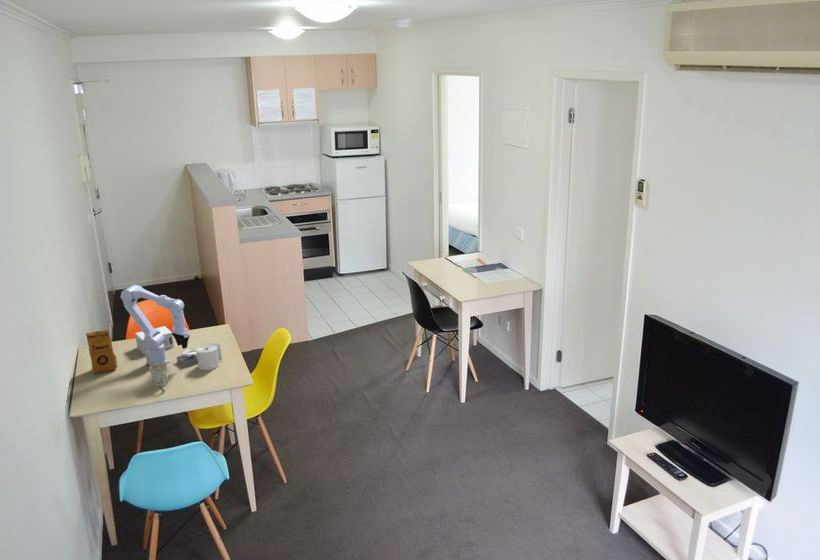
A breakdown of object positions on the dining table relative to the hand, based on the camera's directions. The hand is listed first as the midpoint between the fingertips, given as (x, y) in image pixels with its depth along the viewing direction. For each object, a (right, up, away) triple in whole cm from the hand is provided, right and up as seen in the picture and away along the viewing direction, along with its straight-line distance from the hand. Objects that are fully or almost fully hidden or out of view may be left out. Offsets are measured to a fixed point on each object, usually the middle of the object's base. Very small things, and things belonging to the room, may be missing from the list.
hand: (182, 346), depth 348 cm
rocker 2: (+4, -4, +2) cm, 6 cm away
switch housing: (+3, -9, +5) cm, 11 cm away
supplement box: (-23, -3, +24) cm, 34 cm away
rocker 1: (+1, -3, +6) cm, 7 cm away
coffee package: (-40, -12, -2) cm, 42 cm away
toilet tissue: (+14, -10, 0) cm, 17 cm away
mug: (-2, -17, -21) cm, 27 cm away
